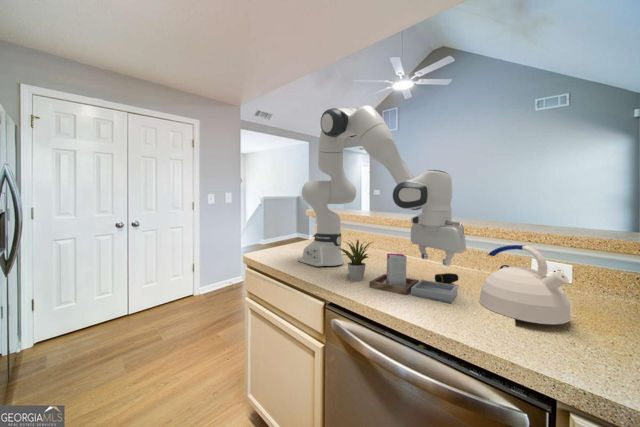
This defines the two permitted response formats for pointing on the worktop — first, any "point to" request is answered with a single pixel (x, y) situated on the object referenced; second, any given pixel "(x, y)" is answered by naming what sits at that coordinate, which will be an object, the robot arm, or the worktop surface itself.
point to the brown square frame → (392, 288)
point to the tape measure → (446, 278)
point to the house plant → (356, 261)
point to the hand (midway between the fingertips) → (435, 261)
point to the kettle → (526, 291)
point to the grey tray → (435, 291)
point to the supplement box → (396, 269)
